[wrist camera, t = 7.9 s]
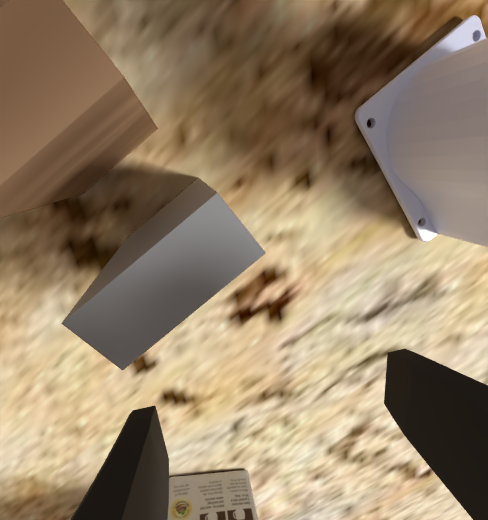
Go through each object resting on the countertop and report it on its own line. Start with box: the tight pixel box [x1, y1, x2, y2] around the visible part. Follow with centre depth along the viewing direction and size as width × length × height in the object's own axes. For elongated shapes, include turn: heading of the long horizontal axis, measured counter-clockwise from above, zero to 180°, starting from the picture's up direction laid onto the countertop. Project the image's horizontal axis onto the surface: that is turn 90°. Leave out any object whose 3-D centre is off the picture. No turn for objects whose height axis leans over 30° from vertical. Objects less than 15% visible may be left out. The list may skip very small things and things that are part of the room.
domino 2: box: [61, 178, 265, 370], centre depth 12 cm, size 2×5×9 cm, turn 128°
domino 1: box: [0, 0, 158, 218], centre depth 10 cm, size 2×5×9 cm, turn 128°
